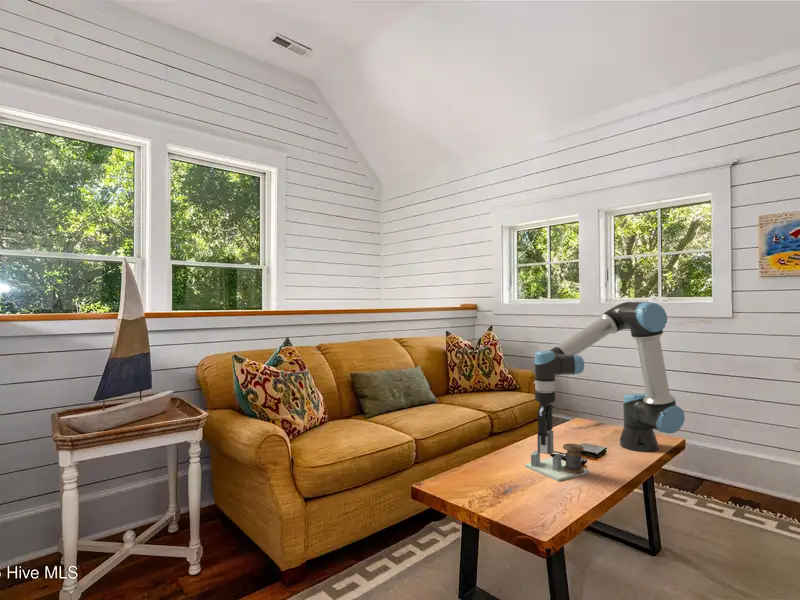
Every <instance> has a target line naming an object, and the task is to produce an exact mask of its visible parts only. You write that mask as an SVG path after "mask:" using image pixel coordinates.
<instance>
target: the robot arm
mask: <svg viewBox="0 0 800 600" xmlns="http://www.w3.org/2000/svg"><path fill="white" fill-rule="evenodd" d="M666 324H668V315H667V312H666V310H665V309H664V307H662V305H660V304H658V303H656V302H652V301H625V302H622V303H618V304H617V305H615V306H613V307H611V308H610V309H608V310H607V311H605V312H603V313H601V314H600V315H599V318H598V319H597V320H596V321H595V320H594V322H592V323H591V324H589V325H587V326H586V327H585V328H582V329H581V330H579V331H578V332H576V333H575V334H572V336H569V338H567V339H566V340H564V341H562V342H561V343H559V344H558V345H556V346H554V347H553V348H551V349H549V350H537V351H535V353H534V381H533V384H534V389H535V391H534V399H535V400H534V401H536V402H538V403H539V406H538V410H537V411H536V414H537V429H538V430H537V432H538V436H540V454H544V453H546V454H545V455H549V454H548V436H547V430H549V431H553V408H554V404H552V403H555V402H556V392H555V391H556V376H564V375H565V376H567V375H568V376H569V375H573V376H574V375H580V374H582V373H583V372H584V369H585V360H584V358H583V357H582V356H581V355H579V354H580V353H582V352H583V351H585V350H586V349H588V348H589V347H591V346H594V344H596V343H598V342H600V341H601V340H602V339H604V338H605V337H607V336H608V335H610V334H616V333H618V332H619V331H623V330H630V335H631V337H632V339H634V340H635V341H636V344H637V351H638V355H639V356H638V357H639V362H640V367H641V373H642V377H643V384H644V389H645V393H628V394H625V395H624V396H623V402H622V404H623V405H622V406H623V408H622V409H623V429H622V431H621V435H620V438H619V445H620V447H622V448H624V449H627V450H631V451H635V452H636V451H637V452H655V451H657V450H658V449H659V442H658V439H657V436H656V434H655V431H654V430H656V431H658V432H660V433H665V434H674V433H676V432H678V431H679V430H681V428H682V427H683V425H684V423H685V419H686V418H685V417H686V416H685V412H684V410H683V409H682V408H681V407H680V406H678V405H677V403H676V398H675V396H673V395H672V394H671V393H670V388H669V383H668V376H667V371H666V365H665V360H664V354H663V349H662V344H661V336H662V335H663V334H664V329H665V327H666Z"/></svg>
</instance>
